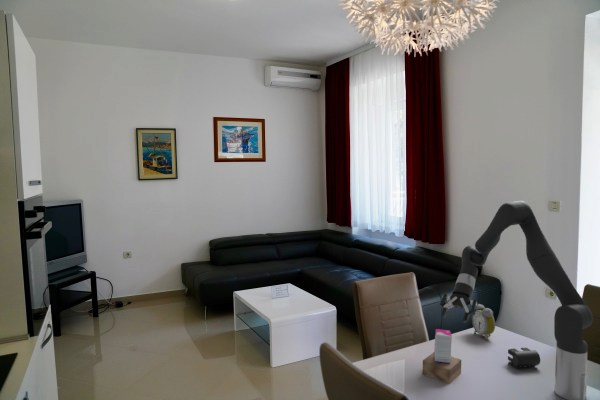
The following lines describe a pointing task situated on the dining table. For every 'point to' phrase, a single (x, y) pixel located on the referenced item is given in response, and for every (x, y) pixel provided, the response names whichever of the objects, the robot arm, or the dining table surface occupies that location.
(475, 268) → the robot arm
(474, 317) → the alarm clock
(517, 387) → the dining table surface
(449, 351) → the supplement box
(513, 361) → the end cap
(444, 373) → the walnut block
